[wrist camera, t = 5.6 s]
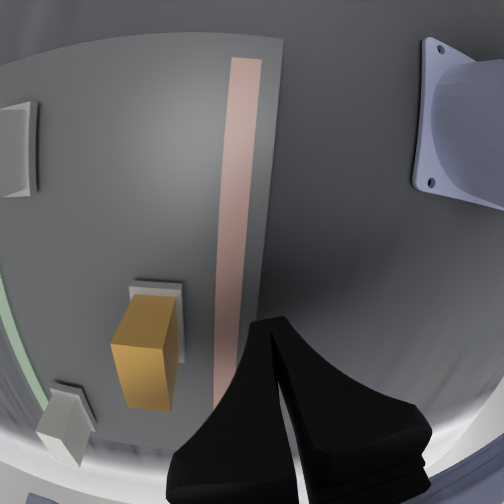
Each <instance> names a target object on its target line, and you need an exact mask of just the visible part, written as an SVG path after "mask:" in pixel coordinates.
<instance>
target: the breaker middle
mask: <svg viewBox="0 0 504 504" xmlns="http://www.w3.org/2000/svg"><path fill="white" fill-rule="evenodd" d="M129 294H130V304H129V306H128V308H127V310H126V312H125V314H124V316H123V318H122V320H121V322H120V324H119V326H118V328H117V330H116V333H115V335H114V337H113V339H112V341H111V343H110V344H111V349H112V353H113V357H114V361H115V365H116V369H117V373H118V376H119V380H120V384H121V387H122V391H123V394H124V397H125V401H126V404H127V407H130V408H137V409H145V410H153V411H162V412H171V410H172V403H173V396H174V389H175V382H176V376H177V369H178V363H185V338H184V314H183V284H182V283H165V282H150V281H135V280H132V282H131V283H130V285H129Z"/></svg>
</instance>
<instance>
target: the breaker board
mask: <svg viewBox="0 0 504 504" xmlns="http://www.w3.org/2000/svg"><path fill="white" fill-rule="evenodd" d="M283 41H284V39H281V38H273V37H265V36H256V35H246V34H232V33H209V32H179V33H156V34H143V35H132V36H123V37H116V38H109V39H102V40H96V41H90V42H85V43H80V44H75V45H70V46H66V47H62V48H58V49H54V50H50V51H46V52H42V53H39V54H36V55H32V56H29V57H26V58H23V59H20V60H17V61H14V62H11V63H8V64H5V65H3V66H0V109H2V108H6V107H9V106H13V105H17V104H21V103H26V102H30V101H33V102H38V104H37V118H36V146H35V160H36V188H37V193H36V194H34V195H32V196H21V197H3V198H1V199H0V329H1V332H2V334H3V337H4V339H5V342H6V344H7V347H8V349H9V352H10V354H11V356H12V359H13V361H14V363H15V365H16V367H17V369H18V372H19V374H20V376H21V378H22V380H23V382H24V384H25V386H26V388H27V390H28V392H29V393H30V395H31V397H32V399H33V401H34V403H35V404H36V406H37V408H38V410H39V411H40V413H41V415H43V413H44V411H45V409H46V407H47V405H48V403H49V401H50V398H51V396H52V393H51V391H50V389H49V387H50V385H51V383H52V382H54V383H58V384H62V385H66V386H71V387H75V388H80V389H82V392H83V394H84V396H85V399H86V401H87V403H88V406H89V408H90V410H91V413H92V415H93V417H94V419H95V421H96V423H97V425H98V427H97V430H96V432H94V431H91V432H90V435H89V436H90V437H95V438H99V439H104V440H109V441H114V442H119V443H125V444H131V445H137V446H144V447H151V448H159V449H168V450H178V449H179V448H180V447H181V446H183V445H184V444H185V443H186V442H187V441H188V440H189V439H190V438H191V437H192V436H193V435H194V434H195V433H196V431H197V430H198V429H199V428H200V427H201V426H202V424H203V423H204V422H205V421H206V419H207V418H208V417H209V416H210V415H211V413H212V412H213V410H214V409H215V408H216V406H217V405H218V403H219V401H220V400H221V398H222V397H223V395H224V394H225V392H226V390H227V388H228V386H229V385H230V383H231V381H232V379H233V376H234V374H235V372H236V370H237V367H238V365H239V362H240V360H241V357H242V354H243V351H244V348H245V345H246V341H247V337H248V331H249V324H250V323H251V322H253V321H256V314H257V306H258V296H259V287H260V278H261V269H262V260H263V250H264V241H265V231H266V222H267V212H268V202H269V192H270V182H271V172H272V162H273V152H274V141H275V131H276V120H277V109H278V98H279V87H280V76H281V65H282V53H283ZM132 280H135V281H150V282H165V283H182V284H183V314H184V338H185V363H178V369H177V376H176V382H175V389H174V396H173V403H172V410H171V412H162V411H153V410H145V409H137V408H130V407H127V404H126V401H125V397H124V394H123V391H122V387H121V384H120V380H119V376H118V373H117V369H116V365H115V361H114V357H113V353H112V349H111V344H110V343H111V341H112V339H113V337H114V335H115V333H116V330H117V328H118V326H119V324H120V322H121V320H122V318H123V316H124V314H125V312H126V310H127V308H128V306H129V304H130V294H129V285H130V283H131V282H132Z"/></svg>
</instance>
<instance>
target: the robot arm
mask: <svg viewBox="0 0 504 504" xmlns="http://www.w3.org/2000/svg"><path fill="white" fill-rule="evenodd" d="M437 47H438V48H439V50H440V53H439V51H438V49H437ZM429 179H431V183H430V185H429V186H428V180H429ZM412 183H413V186H414V187H415V189H417V190H420V191H423V192H428V193H433V194H437V195H442V196H446V197H451V198H455V199H460V200H464V201H468V202H472V203H476V204H480V205H484V206H488V207H492V208H495V209H499V210H503V211H504V59H498V60H489V61H481V62H476V61H475V60H473V59H471V58H470V57H468V56H466V55H464V54H463V53H461V52H459V51H457V50H456V49H454V48H452V47H450V46H448V45H446V44H444V43H442V42H440V41H438V40H436V39H434V38H432V37H428V38H425V39H423V41H422V86H421V105H420V118H419V130H418V139H417V148H416V156H415V163H414V170H413V177H412ZM278 382H279V385H280V388H281V392H282V395H283V398H284V401H285V404H286V407H287V410H288V413H289V416H290V419H291V422H292V425H293V429H294V432H295V437H296V441H297V446H298V451H299V456H300V460H301V465H302V470H303V475H304V480H305V485H306V490H307V495H308V500H309V504H502V503H503V502H504V433H503V434H502V435H500V436H499V437H498V438H496V439H495V440H493V441H492V442H491V443H489V444H487V445H486V446H484V447H483V448H481V449H480V450H478V451H477V452H475V453H473V454H472V455H470V456H469V457H467V458H465V459H464V460H462V461H460V462H459V463H457V464H455V465H453V466H451V467H449V468H448V469H446V470H444V471H442V472H440V473H438V474H436V475H434V476H432V477H430V478H428V476H427V474H426V472H425V471H424V468H423V467H424V466H425V461H424V459H423V457H422V453H423V451H424V450H425V448H426V446H427V444H428V443H429V441H430V438H431V436H432V428H431V427H430V425H429V423H428V421H427V420H426V418H425V417H424V416H423V414H422V413H421V412H420V411H419V410H418V408H417V407H416V406H415V405H414V404H410V403H407V402H404V401H401V400H398V399H394V398H391V397H389V396H386V395H384V394H381V393H379V392H376V391H374V390H372V389H370V388H368V387H366V386H364V385H362V384H361V383H359V382H357V381H355V380H353V379H352V378H350V377H348V376H347V375H345V374H344V373H342V372H341V371H339V370H338V369H337V368H335V367H334V366H332V365H331V364H330V363H329V362H327V361H326V360H325V359H324V358H323V357H321V356H320V355H319V354H318V353H317V352H316V351H315V350H314V349H313V348H311V347H310V346H309V344H308V343H307V342H306V341H305V340H304V339H303V338H302V337H301V336H300V335H299V334H298V333H297V332H296V330H295V329H294V328H293V327H292V325H291V324H290V323H289V321H288V320H287V318H285V317H284V316H281V317H276V318H270V319H265V320H259V321H253V322H251V323H250V324H249V331H248V337H247V341H246V345H245V348H244V351H243V354H242V357H241V360H240V362H239V365H238V367H237V370H236V372H235V374H234V376H233V379H232V381H231V383H230V385H229V386H228V388H227V390H226V392H225V394H224V395H223V397H222V398H221V400H220V401H219V403H218V405H217V406H216V408H215V409H214V410H213V412H212V413H211V415H210V416H209V417H208V418H207V419H206V421H205V422H204V423H203V424H202V426H201V427H200V428H199V429H198V430H197V431H196V433H195V434H194V435H193V436H192V437H191V438H190V439H189V440H188V441H187V442H186V443H185V444H184V445H183V446H181V447H180V448H179V449H178V450H177V451H176V452H175V453H174V454H173V457H172V460H171V463H170V467H169V471H168V475H167V485H166V499H167V501H168V502H169V503H170V504H299V498H298V488H297V478H296V473H295V468H294V463H293V458H292V454H291V450H290V446H289V442H288V437H287V433H286V429H285V425H284V420H283V416H282V411H281V407H280V400H279V389H278ZM26 504H58V503H57V502H55V501H52V500H50V499H47V498H44V497H41V496H38V495H36V494H33V493H29V495H28V497H27V500H26Z"/></svg>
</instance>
